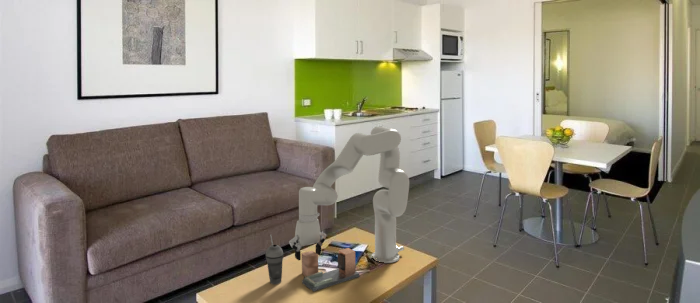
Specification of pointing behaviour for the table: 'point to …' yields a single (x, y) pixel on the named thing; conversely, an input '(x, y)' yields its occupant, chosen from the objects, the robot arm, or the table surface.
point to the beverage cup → (274, 263)
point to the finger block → (309, 263)
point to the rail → (334, 272)
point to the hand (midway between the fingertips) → (308, 256)
